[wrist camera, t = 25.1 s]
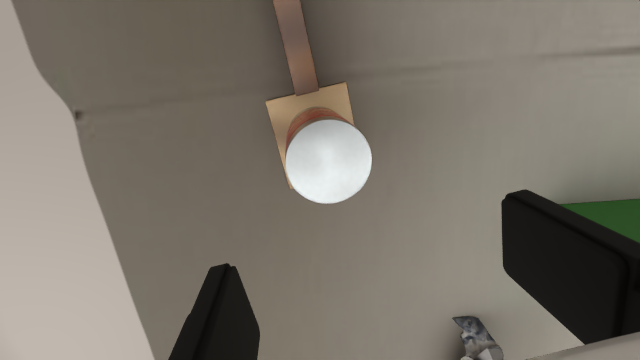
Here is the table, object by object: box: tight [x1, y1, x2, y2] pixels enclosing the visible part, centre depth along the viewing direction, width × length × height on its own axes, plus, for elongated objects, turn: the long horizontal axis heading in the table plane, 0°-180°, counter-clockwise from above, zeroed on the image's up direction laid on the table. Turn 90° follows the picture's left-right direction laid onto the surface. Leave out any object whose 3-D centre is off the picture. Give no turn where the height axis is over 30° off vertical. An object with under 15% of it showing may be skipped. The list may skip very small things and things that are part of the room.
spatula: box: [266, 0, 354, 189], centre depth 29 cm, size 21×9×5 cm, turn 13°
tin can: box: [285, 106, 372, 204], centre depth 28 cm, size 7×7×11 cm
